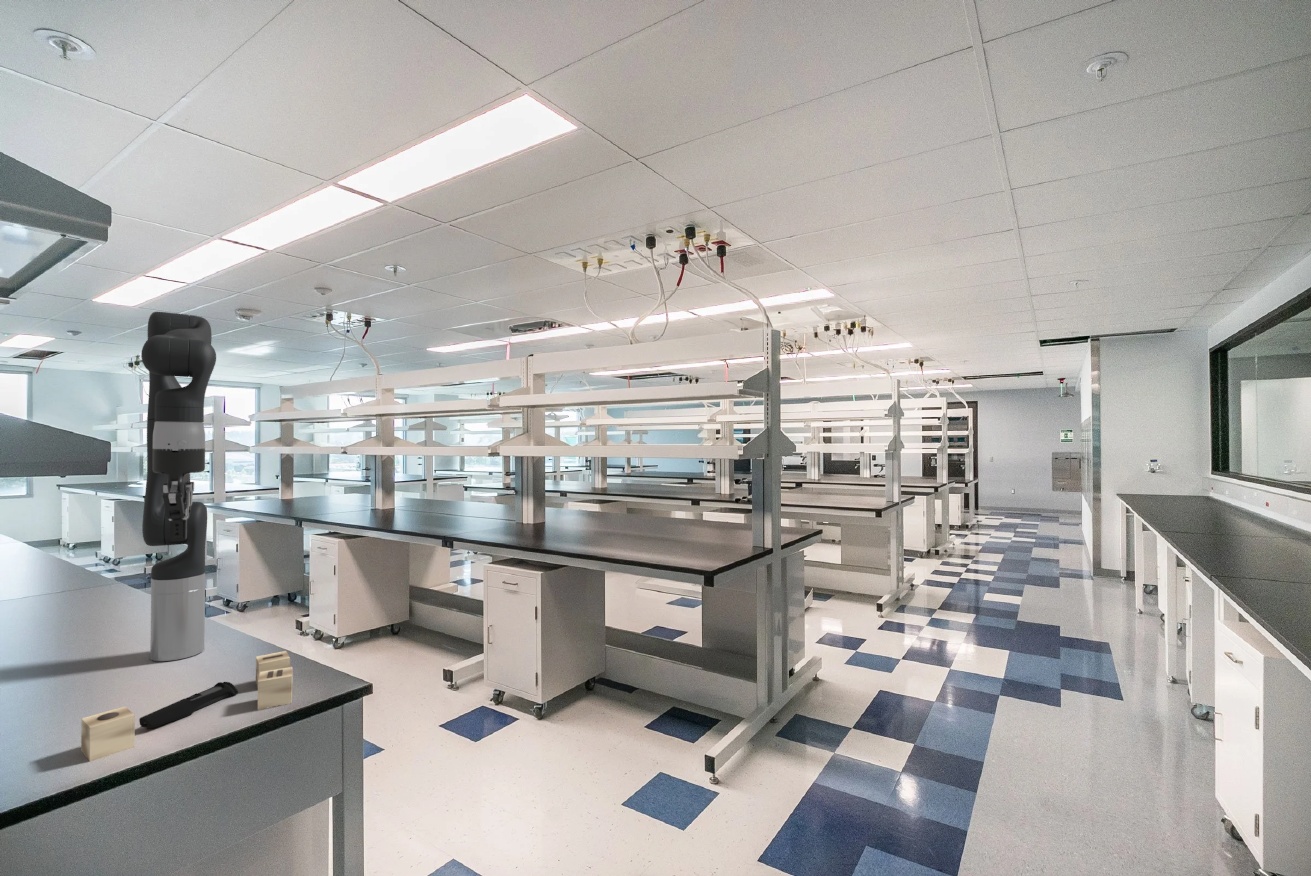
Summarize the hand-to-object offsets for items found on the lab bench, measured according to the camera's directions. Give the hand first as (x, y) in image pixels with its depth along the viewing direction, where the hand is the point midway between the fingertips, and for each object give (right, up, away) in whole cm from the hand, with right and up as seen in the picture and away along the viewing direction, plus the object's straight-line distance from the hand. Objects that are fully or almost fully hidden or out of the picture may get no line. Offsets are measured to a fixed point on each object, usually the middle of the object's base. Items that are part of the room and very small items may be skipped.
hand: (178, 540), depth 108 cm
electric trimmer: (+8, -29, -6) cm, 31 cm away
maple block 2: (+14, -29, +6) cm, 32 cm away
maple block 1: (+5, -28, -19) cm, 35 cm away
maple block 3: (+20, -29, -3) cm, 35 cm away
